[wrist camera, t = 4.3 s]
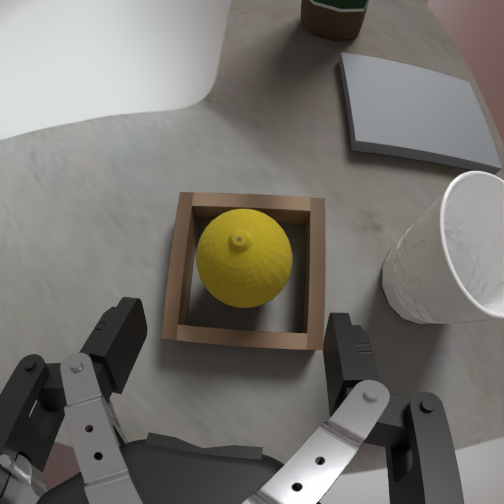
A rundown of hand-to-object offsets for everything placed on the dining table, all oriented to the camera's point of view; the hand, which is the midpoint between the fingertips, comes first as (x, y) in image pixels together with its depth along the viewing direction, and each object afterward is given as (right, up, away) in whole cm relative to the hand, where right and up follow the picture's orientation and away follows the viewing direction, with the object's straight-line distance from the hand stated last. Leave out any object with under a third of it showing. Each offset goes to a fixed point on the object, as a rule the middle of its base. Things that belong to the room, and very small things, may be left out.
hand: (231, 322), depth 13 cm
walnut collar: (+1, +1, +9) cm, 10 cm away
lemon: (+1, +1, +10) cm, 10 cm away
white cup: (+14, +1, +9) cm, 16 cm away
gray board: (+18, +17, +13) cm, 28 cm away
